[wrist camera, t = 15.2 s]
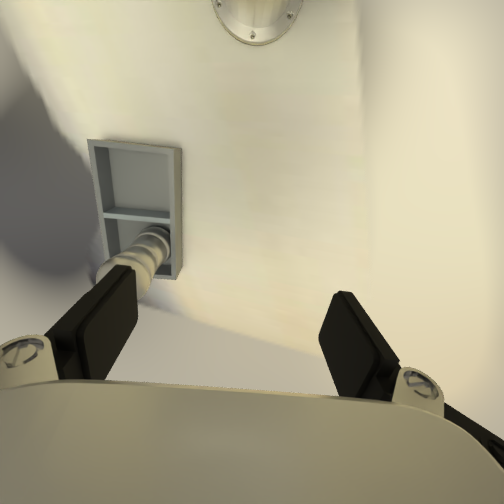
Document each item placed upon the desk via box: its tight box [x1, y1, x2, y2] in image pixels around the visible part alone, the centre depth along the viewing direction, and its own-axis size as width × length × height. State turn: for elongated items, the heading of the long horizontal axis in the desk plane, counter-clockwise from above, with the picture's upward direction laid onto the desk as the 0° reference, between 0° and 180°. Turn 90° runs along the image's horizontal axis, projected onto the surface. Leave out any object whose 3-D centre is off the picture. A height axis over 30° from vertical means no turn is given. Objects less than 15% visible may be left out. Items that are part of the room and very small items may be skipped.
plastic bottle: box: [96, 227, 171, 300], centre depth 36 cm, size 6×7×20 cm
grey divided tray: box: [87, 139, 182, 280], centre depth 41 cm, size 22×12×5 cm, turn 174°
